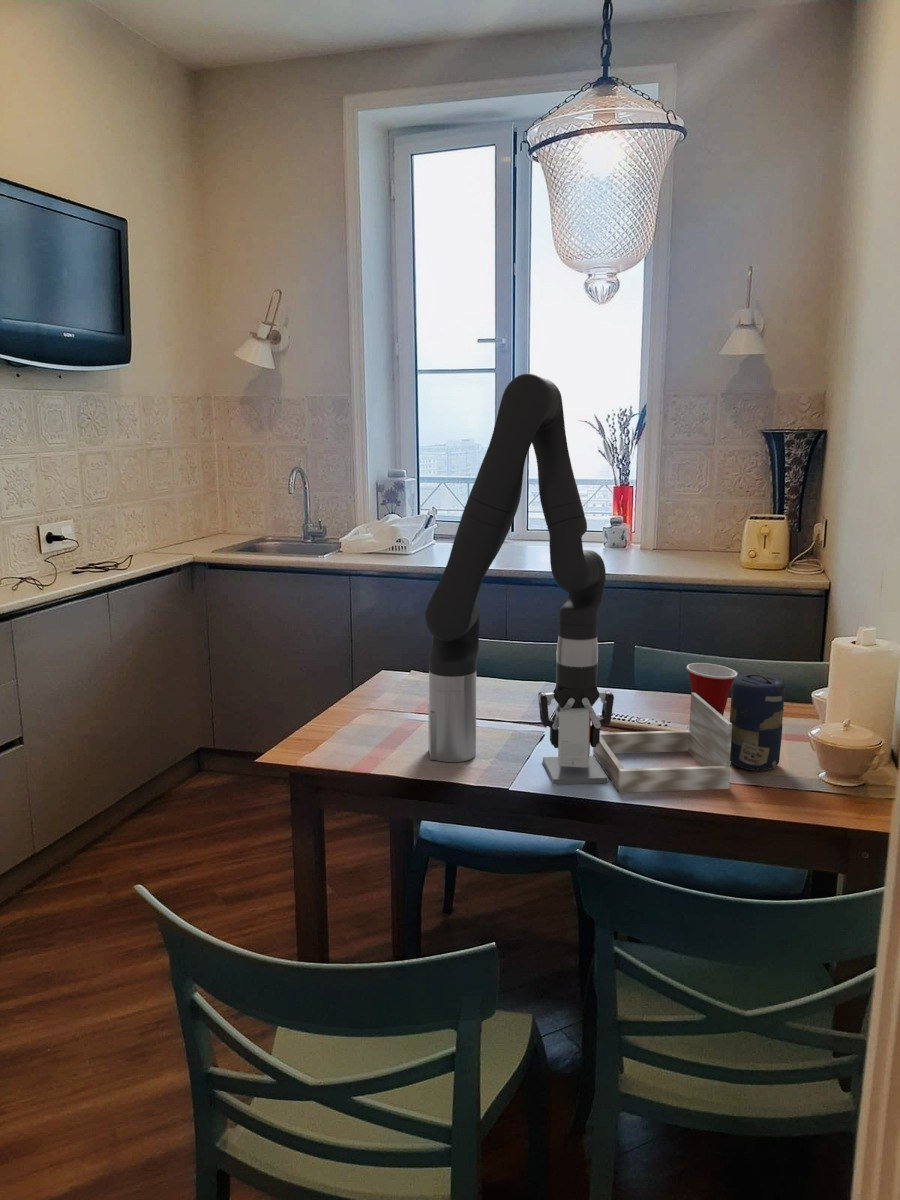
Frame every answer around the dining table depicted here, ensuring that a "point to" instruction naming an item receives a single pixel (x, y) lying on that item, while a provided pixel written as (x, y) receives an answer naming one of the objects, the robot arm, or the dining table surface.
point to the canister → (756, 721)
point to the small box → (574, 737)
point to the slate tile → (575, 772)
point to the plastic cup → (711, 683)
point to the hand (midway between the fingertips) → (574, 746)
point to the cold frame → (701, 740)
